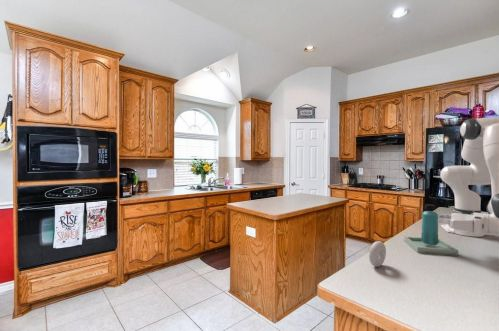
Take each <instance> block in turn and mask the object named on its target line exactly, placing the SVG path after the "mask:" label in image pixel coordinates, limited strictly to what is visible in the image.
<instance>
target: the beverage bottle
mask: <svg viewBox="0 0 499 331" xmlns="http://www.w3.org/2000/svg"><path fill="white" fill-rule="evenodd" d="M424 209H425V210H424V211H423V212H422V213H421V214H422V216H421V218H422V219H421V237H420V238H422V239H421V240H422V242H423V243H425V244H429V245H437V244H438V239H439V222H438V218H439V214H438V213H437V212H436V211H435V210H436V205H435V204H429V203H427V204H425V205H424ZM431 210H432V211H431Z"/></svg>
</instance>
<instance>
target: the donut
mask: <svg viewBox="0 0 499 331" xmlns="http://www.w3.org/2000/svg"><path fill="white" fill-rule="evenodd" d="M386 255H387V249H386V245H385V243H383V242H382V241H380V240H376V241H374V242H373V243H372V245H371V246H370V249H369V255H368V257H369V262H370V264H371V265H372V266H373V267H376V268H378V267H381V266H382V265H383V264H384V262H385V259H386Z"/></svg>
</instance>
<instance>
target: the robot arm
mask: <svg viewBox="0 0 499 331" xmlns="http://www.w3.org/2000/svg"><path fill="white" fill-rule="evenodd" d="M459 132H460V136H461V137H462V138H463V139H464V142H463V145H462V149H461V154H460V155H461V156H460V157H461V158H462V159H463V161H466V162H467V163H469V164H470V165H449V166H444V167H443V168H442V169H441V171H440V175H439V176H440V179H441V181H442V182H444V183H445V184H447V186H448V187H450V189H451V191H452V193H453V195H454V207H453V209H452V212H451V214H438V223H442V224H441V225H440V227H441V228H442V229H443V230H444V231H446V232H448V233H452V234H456V235H460V236H465V237H476V238H478V237H481V238H482V237H484V236H487V235H488V236H498V237H499V116H494V117H493V116H492V117H480V118H479V117H478V118H475V117H472V118H469V119H465V120H464V121H463V122H462V123H461V125H460V128H459ZM488 185H490V186H491V187H490V189H491V197H490V200H489V201H488V203H487V205H486V212H487V213H482V210H481V201H482V197H481V196H480V195H479V193H477V192H475V191H473V190H470V188H469V186H488Z"/></svg>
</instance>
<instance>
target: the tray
mask: <svg viewBox="0 0 499 331" xmlns="http://www.w3.org/2000/svg"><path fill="white" fill-rule="evenodd" d="M421 239H422V238H421V237H416V236H404V238H403V242H405V243H406V244H407V246H409V247H410V248H411V249H412V250H414V252H416V253H418V254H428V255H429V254H430V255H441V256H442V255H443V256H455V257H458V256H459V249H457V248H455V247H454V246H452V245H451V244H449V243H447V242H446V241H444V240H443V239H441V238H438V244H437V245H429V244H425V243H423V242H422V240H421Z"/></svg>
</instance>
